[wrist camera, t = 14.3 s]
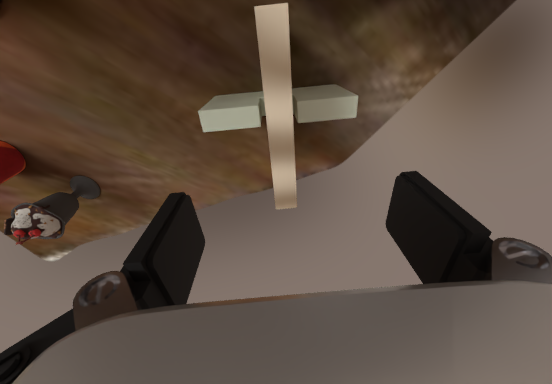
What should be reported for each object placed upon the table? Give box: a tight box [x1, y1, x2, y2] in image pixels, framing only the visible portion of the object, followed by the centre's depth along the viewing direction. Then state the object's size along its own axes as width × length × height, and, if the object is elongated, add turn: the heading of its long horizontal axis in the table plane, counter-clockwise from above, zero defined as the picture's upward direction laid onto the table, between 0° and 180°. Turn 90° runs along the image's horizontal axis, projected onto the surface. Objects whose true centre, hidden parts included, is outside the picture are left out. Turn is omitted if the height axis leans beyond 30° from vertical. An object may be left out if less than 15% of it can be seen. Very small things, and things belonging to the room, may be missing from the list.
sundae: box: [4, 176, 100, 244], centre depth 35 cm, size 7×7×15 cm
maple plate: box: [254, 3, 297, 209], centre depth 28 cm, size 18×2×16 cm, turn 5°
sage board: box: [198, 84, 358, 132], centre depth 30 cm, size 2×18×10 cm, turn 95°
